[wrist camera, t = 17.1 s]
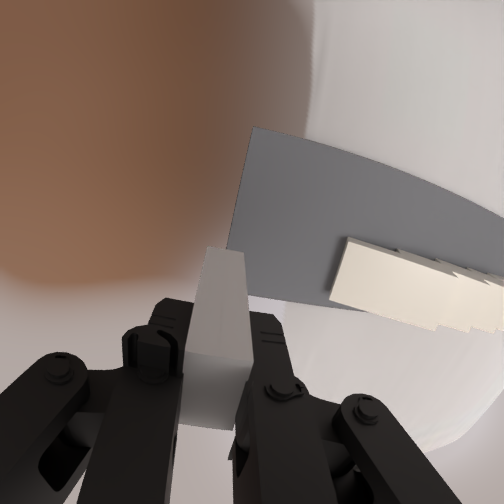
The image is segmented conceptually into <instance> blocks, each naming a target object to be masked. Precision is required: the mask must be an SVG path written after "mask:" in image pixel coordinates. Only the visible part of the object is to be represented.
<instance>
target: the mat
mask: <svg viewBox="0 0 504 504" xmlns="http://www.w3.org/2000/svg"><path fill="white" fill-rule="evenodd" d="M348 237H351V238H354V239H357V240H360V241H364V242H367V243H370V244H373V245H376V246H379V247H382V248H385V249H388V250H391V251H394V252H396V250H397V249H400V250H403V251H406V252H409V253H412V254H415V255H418V256H421V257H424V258H427V259H430V260H432V261H435V259H436V258H437V259H440V260H442V261H445V262H448V263H451V264H453V265H456V266H459V267H461V268H464V269H467V267H468V268H471V269H474V270H476V271H479V272H481V273H484V274H486V275H487V273H491V274H494V275H498V276H501V277H504V218H502V217H500V216H498V215H497V214H495V213H493V212H491V211H489V210H487V209H485V208H483V207H481V206H479V205H477V204H475V203H473V202H471V201H469V200H467V199H465V198H463V197H461V196H459V195H457V194H455V193H452V192H450V191H448V190H446V189H444V188H441V187H439V186H437V185H434V184H432V183H430V182H427V181H425V180H423V179H420V178H418V177H415V176H413V175H410V174H408V173H405V172H403V171H400V170H398V169H395V168H392V167H390V166H387V165H384V164H382V163H379V162H376V161H373V160H370V159H368V158H365V157H362V156H359V155H356V154H353V153H350V152H347V151H343V150H340V149H337V148H334V147H331V146H327V145H324V144H320V143H317V142H314V141H310V140H306V139H303V138H299V137H295V136H291V135H288V134H284V133H280V132H276V131H271V130H267V129H263V128H258V127H254V126H253V129H252V133H251V138H250V142H249V146H248V150H247V155H246V159H245V164H244V168H243V173H242V177H241V182H240V187H239V191H238V195H237V200H236V205H235V209H234V214H233V219H232V223H231V228H230V233H229V238H228V243H227V247H226V249H227V250H233V251H238V252H244V261H245V272H246V283H247V294H248V295H251V296H257V297H264V298H271V299H276V300H283V301H289V302H296V303H303V304H310V305H317V306H324V307H331V308H339V309H346V310H354V311H362V312H367V311H364V310H360V309H357V308H354V307H350V306H347V305H344V304H341V303H337V302H334V301H331V300H329V295H330V290H331V287H332V284H333V281H334V278H335V275H336V272H337V269H338V266H339V263H340V260H341V257H342V254H343V251H344V248H345V244H346V241H347V238H348Z"/></svg>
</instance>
